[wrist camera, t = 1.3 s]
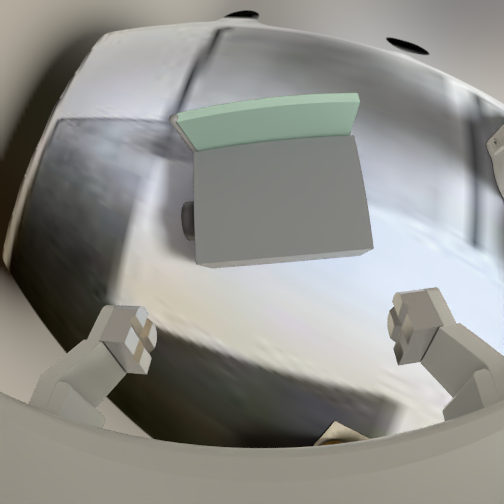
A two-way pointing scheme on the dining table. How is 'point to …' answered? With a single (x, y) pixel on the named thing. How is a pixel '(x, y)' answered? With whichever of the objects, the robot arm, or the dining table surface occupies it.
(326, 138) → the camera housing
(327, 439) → the condiment
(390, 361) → the dining table surface
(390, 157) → the dining table surface
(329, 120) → the side door
